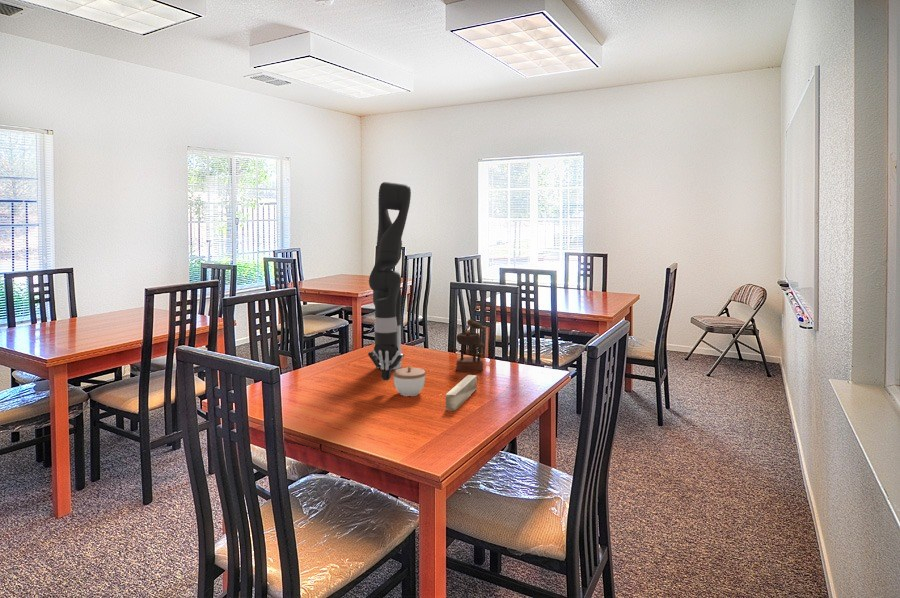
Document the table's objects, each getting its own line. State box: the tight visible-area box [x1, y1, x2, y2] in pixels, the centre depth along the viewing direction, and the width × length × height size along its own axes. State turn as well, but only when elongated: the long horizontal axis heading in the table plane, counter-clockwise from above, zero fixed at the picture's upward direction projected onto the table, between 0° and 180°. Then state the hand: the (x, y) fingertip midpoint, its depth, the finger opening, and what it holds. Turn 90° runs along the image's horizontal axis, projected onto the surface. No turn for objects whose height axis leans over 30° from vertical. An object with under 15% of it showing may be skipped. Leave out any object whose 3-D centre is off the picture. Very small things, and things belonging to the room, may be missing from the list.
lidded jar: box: [392, 365, 426, 397], centre depth 193 cm, size 11×11×9 cm
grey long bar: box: [445, 374, 478, 412], centre depth 188 cm, size 3×24×5 cm, turn 162°
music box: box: [448, 319, 488, 373], centre depth 225 cm, size 15×11×20 cm
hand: (386, 379), depth 196 cm, fingers closed
